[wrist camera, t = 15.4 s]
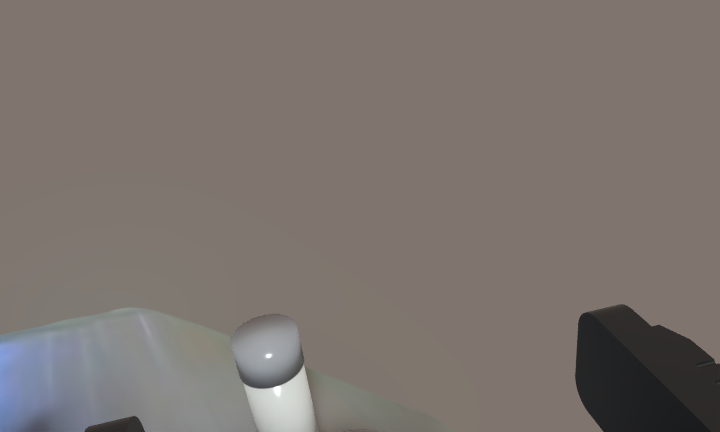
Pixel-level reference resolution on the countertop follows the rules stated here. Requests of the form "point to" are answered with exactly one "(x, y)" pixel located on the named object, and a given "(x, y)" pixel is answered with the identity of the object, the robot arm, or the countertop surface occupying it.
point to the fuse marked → (360, 430)
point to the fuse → (274, 374)
